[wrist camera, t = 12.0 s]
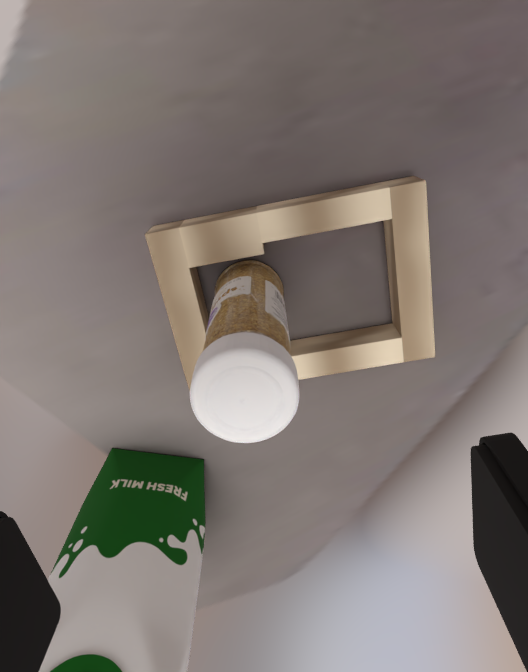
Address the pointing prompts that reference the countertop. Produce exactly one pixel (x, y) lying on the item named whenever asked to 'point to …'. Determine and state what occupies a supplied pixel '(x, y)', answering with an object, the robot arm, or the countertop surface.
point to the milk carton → (131, 568)
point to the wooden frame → (297, 220)
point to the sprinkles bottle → (246, 358)
